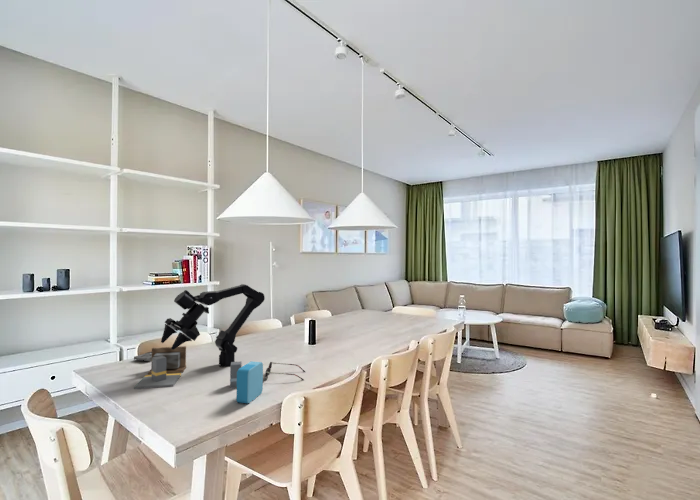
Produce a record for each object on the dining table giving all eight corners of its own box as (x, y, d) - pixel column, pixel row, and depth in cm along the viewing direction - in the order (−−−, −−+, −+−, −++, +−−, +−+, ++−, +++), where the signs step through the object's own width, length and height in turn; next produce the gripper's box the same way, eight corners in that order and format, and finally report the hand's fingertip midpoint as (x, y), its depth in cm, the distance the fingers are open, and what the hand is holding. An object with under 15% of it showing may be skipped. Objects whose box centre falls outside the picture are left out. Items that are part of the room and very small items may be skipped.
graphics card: (157, 346, 195) (174, 348, 191) (157, 353, 195) (174, 355, 191) (128, 355, 179) (146, 357, 175) (128, 362, 179) (146, 365, 175)
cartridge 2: (241, 383, 150) (241, 361, 150) (240, 387, 146) (241, 364, 146) (230, 384, 149) (231, 362, 149) (230, 387, 145) (230, 365, 145)
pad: (181, 375, 159) (181, 373, 159) (173, 386, 146) (173, 384, 146) (145, 377, 156) (145, 375, 156) (134, 388, 143) (134, 386, 143)
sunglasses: (269, 372, 166) (270, 361, 166) (305, 374, 167) (306, 363, 167) (264, 382, 152) (265, 370, 152) (303, 384, 153) (304, 372, 153)
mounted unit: (186, 367, 170) (186, 345, 170) (182, 372, 163) (183, 349, 163) (152, 369, 167) (153, 347, 167) (147, 374, 160) (148, 351, 160)
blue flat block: (251, 391, 141) (252, 360, 142) (262, 392, 140) (263, 361, 141) (236, 403, 130) (236, 369, 130) (247, 405, 129) (248, 370, 129)
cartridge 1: (161, 377, 154) (162, 355, 154) (166, 379, 151) (166, 357, 151) (151, 379, 151) (151, 357, 151) (155, 382, 148) (156, 359, 148)
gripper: (215, 331, 164) (190, 361, 157) (193, 319, 175) (169, 348, 168) (199, 317, 156) (172, 349, 149) (177, 306, 168) (151, 335, 160)
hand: (166, 345), depth 157 cm, fingers open, 9 cm apart
